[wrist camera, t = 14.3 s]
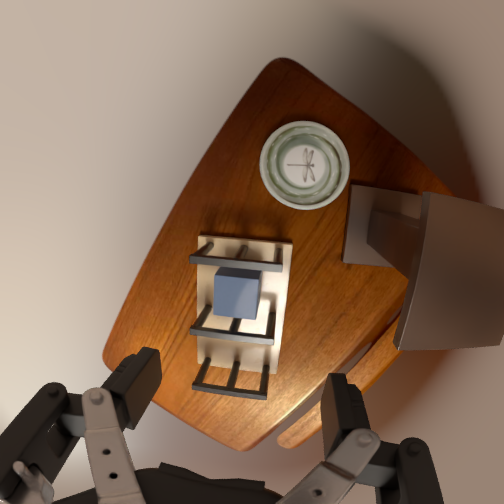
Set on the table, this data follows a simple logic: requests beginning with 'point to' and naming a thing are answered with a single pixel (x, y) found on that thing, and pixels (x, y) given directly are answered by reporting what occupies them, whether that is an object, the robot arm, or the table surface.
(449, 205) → the stand
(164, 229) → the table surface
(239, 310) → the block
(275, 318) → the rack
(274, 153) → the saucer
